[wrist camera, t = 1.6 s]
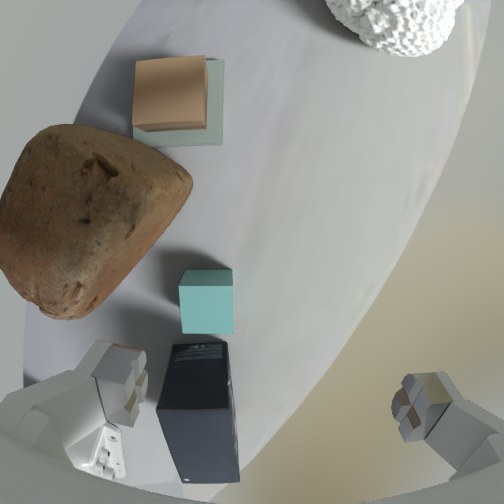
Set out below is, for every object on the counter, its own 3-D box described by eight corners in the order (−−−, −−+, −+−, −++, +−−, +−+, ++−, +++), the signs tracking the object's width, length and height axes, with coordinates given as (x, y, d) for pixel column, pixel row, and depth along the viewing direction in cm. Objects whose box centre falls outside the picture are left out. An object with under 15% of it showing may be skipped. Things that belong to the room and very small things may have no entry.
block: (148, 138, 29) (38, 97, 9) (205, 180, 30) (162, 191, 11) (94, 222, 30) (-34, 283, 11) (146, 262, 32) (58, 370, 12)
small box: (237, 417, 38) (241, 484, 27) (189, 418, 38) (181, 485, 26) (229, 340, 35) (230, 409, 23) (172, 342, 34) (152, 410, 23)
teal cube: (232, 311, 34) (233, 333, 29) (188, 311, 34) (182, 333, 29) (232, 269, 33) (232, 285, 28) (185, 269, 32) (178, 286, 28)
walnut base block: (206, 129, 28) (202, 120, 23) (147, 132, 27) (131, 125, 22) (208, 73, 26) (204, 55, 21) (149, 77, 26) (136, 61, 21)
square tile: (222, 145, 29) (222, 144, 28) (136, 148, 29) (132, 148, 28) (224, 63, 27) (223, 60, 26) (140, 69, 26) (137, 66, 25)
